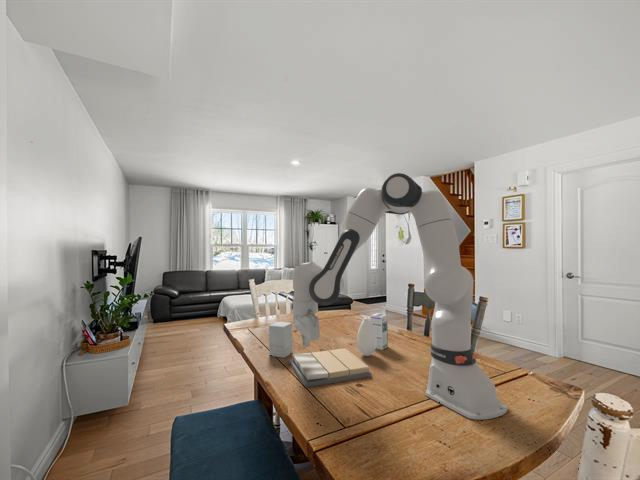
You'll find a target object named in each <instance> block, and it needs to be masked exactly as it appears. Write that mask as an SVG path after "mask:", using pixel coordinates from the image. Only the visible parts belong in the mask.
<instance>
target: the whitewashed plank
mask: <svg viewBox="0 0 640 480" xmlns="http://www.w3.org/2000/svg"><path fill="white" fill-rule="evenodd" d="M311 353H312V352H307V353H305V352H303V353H291V354H292V355H291V359H293V360H294V361H295V363H296V364H297V366H298V367H299V369H300V370H301V371H302V373H303V374H304V376H305V377H306V379H307V380H312V379H321V378H328V372H327V371H326V370H325V369H324V368H323V367H322V366H321V364H320V363H319V362H318V361H317V360H316V359H315V358H314V357H313V356H312V354H311Z"/></svg>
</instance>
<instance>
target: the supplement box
mask: <svg viewBox="0 0 640 480" xmlns="http://www.w3.org/2000/svg"><path fill="white" fill-rule="evenodd" d="M268 337H269V338H268V341H269V342H268V345H269V347H268V351H269V353H268V354H269V355H272V356H271V357H277V358H286V357H288V356H289V355H291V354H293V323H292V322H287V321H276V322H274V323H272V324H269V325H268ZM290 353H291V354H290ZM269 355H268V356H269Z"/></svg>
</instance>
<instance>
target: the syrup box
mask: <svg viewBox="0 0 640 480" xmlns="http://www.w3.org/2000/svg"><path fill="white" fill-rule="evenodd" d="M369 318H370V321H371V323H372V324H373V326H374V329H375V332H376V339H377V342H376V348H375V350H380V351H383V350H384V349H386V348H387V347H389V337H388V336H389V335H388V334H389V333H388V331H389V330H388V314H385V313H379V312H377V313H374V314H371V315H370V316H369Z"/></svg>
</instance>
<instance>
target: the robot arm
mask: <svg viewBox="0 0 640 480" xmlns="http://www.w3.org/2000/svg"><path fill="white" fill-rule="evenodd" d="M384 213H386V214H392V215H406V214H409V213H410V214H411V215H412V217H413V219H414V221H415V225H416V230H417V233H418V237H419V240H420V245H421V250H422V254H423V270H424V284H423V286H424V291H425V293H426V295H427V297H428V298H429V299H430V300H431V301H433V302H434V309H433V314H432V318H431V343H430V349H429V350H430V355H431V362H430V365H429V372H428V382H427V385H426V388H427V389H426V390H425V396H426V397H428V398H430V399H431V400H433V401H435V402H437V403H439V402H440V403H439V404H440V405H442V406H445V407H447V408H449V409H450V410H452V411H454V412H456V413H458V414H460V415H461V416H464V417H465V418H467V419H469V420H470V419H471V420H482V421H483V420H491V419H495V418H498V417H502V416H503V415H505V414H506V413H507V412H508V406H507V404H505V403H504V402H503V401H501V400H499V399H498V393H497V392H498V391H497V389H496V386H495V383H493V381H492V380H491V379H490V377H489V376H487V374H486V373H485V372H484V371H483V370H482V368H481V367H480V366H479V364H477V360H476V359H479V357H478V356H479V354H474V350H473V348H472V344H471V342H472V341H471V340H472V338H471V337H472V336H471V331H472V329H471V319H472V310H473V301H474V277H473V274H472V273H471V271H470V270H468V268H466V267H464V266H462V261H461V255H460V254H461V252H460V242H459V239H458V235H457V231H456V227H455V224H454V220H453V217H452V214H451V211H450V208H449V206H448V204H447V202H446V200H445V198H444V195H443V194H442V192H440V191H437V190H424V191H423V187H421V186H420V184H418V183H417V182H416V181H415V180H414V179H413V178H411V177H410V176H409V175H407V174H405V173H401V172H400V173H399V172H397V173H393V174H391V175H389V176H387V177H386V179H385V180H384V181H383V183H382V185H381V189H380V190H379V189H376V188H371V187H366V188H364V189H362V190H361V191H360V192H359V193H358V194H357V196H356V197H355V199H354V200H353V201H352V203H351V205H350V206H349V208H348V210H347V212H346V215H345V217H344V219H343V221H342V224H341V227H340V228H341V229H340V232H339V235H338V238H337V240H336V244H335V246H334V249H333V250H332V253H330V256H329V258H328V260H327V262H326V263H325V266H324V267H322V266H320V265H319V264H317V263H316V262H313V261H308V262H303V263H299V264H297V265H295V267H294V269H293V274H292V289H293V297H292V298H293V299H292V303H291V304H290V308H291V310H292V320H293V327H294V328H295V329H296V330H297V331H298V332H299V333H301V334H300V335H301V341H302V346H303V347H305V348H306V349H307V348H310V346H311V342H313V341H319V339H320V338H321V337H320V335H321V334H320V320H319V317H318V316H317V315H315V314H317V313H318V312H319V307H318V305H320V306H329V305H333V303H335V302H336V301H337V300H338V298H339V297H340V294H342V293H341V292H342V291H343V289H344V286H345V285H344V280H343V279H344V278H343V275H344V273H345V272H346V271H345V270H346V268H347V267H348V265H349V262H350V261H351V259H352V258H353V255H354V254H355V253H356V251H357V250H359V248H360V247H362V246H363V245H364V244H366V242H367V241H369V239H370V237H371V235H372V234H373V233H374V231H375V229H376V227H377V225H378V222H379V220H380V219H381V217H382V216H383V214H384Z"/></svg>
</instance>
